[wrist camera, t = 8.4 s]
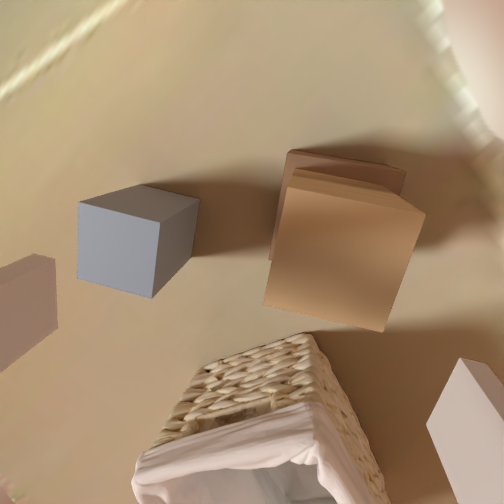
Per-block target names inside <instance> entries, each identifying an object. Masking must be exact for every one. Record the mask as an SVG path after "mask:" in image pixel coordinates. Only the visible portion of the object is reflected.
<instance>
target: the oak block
mask: <svg viewBox="0 0 504 504" xmlns="http://www.w3.org/2000/svg"><path fill="white" fill-rule="evenodd" d="M425 217H426V214H425V213H423V212H422V211H420V210H419V209H417V208H416V207H414V206H413V205H411V204H410V203H408V202H407V201H405V200H404V199H402V198H401V197H399V196H398V195H396V194H395V193H393V192H392V191H390V190H388V189H387V188H385V187H384V186H382V185H379V184H374V183H369V182H363V181H358V180H353V179H348V178H343V177H338V176H332V175H327V174H322V173H317V172H312V171H307V170H302V169H296V168H295V169H294V171H293V174H292V177H291V179H290V182H289V184H288V187H287V191H286V196H285V201H284V206H283V210H282V215H281V220H280V225H279V230H278V234H277V239H276V244H275V249H274V253H273V258H272V263H271V268H270V272H269V277H268V282H267V287H266V291H265V296H264V301H263V305H266V306H270V307H275V308H279V309H283V310H288V311H292V312H296V313H300V314H305V315H309V316H313V317H318V318H322V319H326V320H330V321H335V322H339V323H343V324H348V325H352V326H356V327H360V328H365V329H369V330H373V331H378V332H382V333H383V330H384V328H385V325H386V322H387V320H388V317H389V314H390V311H391V309H392V306H393V303H394V301H395V298H396V295H397V293H398V290H399V287H400V285H401V282H402V279H403V277H404V274H405V271H406V268H407V266H408V263H409V260H410V258H411V255H412V252H413V250H414V247H415V244H416V242H417V239H418V236H419V234H420V231H421V228H422V225H423V223H424V220H425Z"/></svg>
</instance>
